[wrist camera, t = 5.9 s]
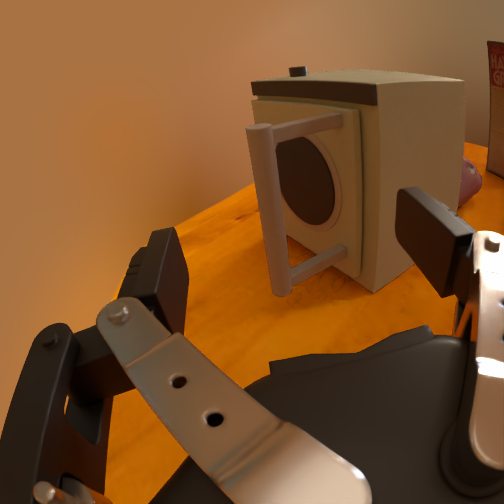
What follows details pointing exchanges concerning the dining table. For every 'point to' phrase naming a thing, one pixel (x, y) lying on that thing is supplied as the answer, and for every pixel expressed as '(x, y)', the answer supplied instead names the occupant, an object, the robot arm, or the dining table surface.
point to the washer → (389, 147)
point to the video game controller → (469, 182)
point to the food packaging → (496, 109)
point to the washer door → (307, 186)
